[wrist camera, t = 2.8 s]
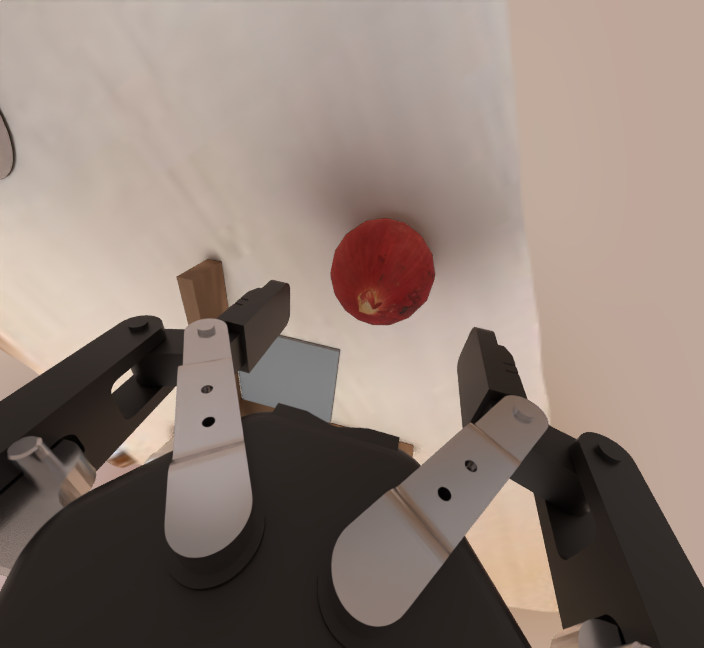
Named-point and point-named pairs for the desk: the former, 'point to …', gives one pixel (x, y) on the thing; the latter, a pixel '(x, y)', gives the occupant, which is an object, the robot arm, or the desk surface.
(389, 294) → the onion
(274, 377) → the slate mat
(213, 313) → the walnut corner walls
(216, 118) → the desk surface
